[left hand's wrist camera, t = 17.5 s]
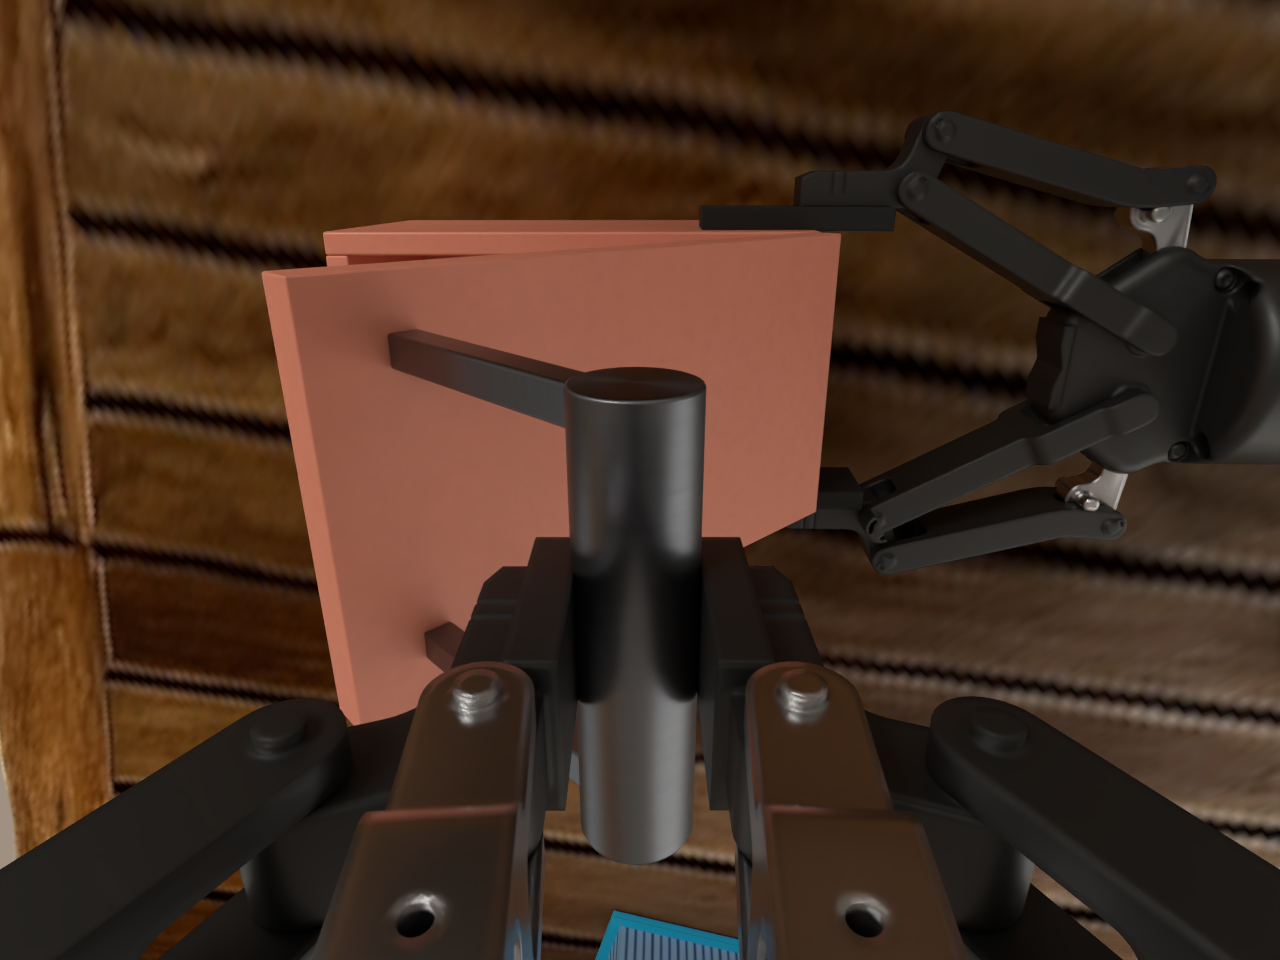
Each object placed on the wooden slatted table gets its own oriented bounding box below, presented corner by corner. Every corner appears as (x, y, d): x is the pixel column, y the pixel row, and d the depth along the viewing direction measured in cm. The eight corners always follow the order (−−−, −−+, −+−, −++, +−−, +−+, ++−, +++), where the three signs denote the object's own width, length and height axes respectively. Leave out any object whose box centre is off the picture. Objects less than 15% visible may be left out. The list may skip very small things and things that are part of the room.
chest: (431, 424, 37) (361, 496, 29) (410, 220, 34) (321, 232, 25) (768, 426, 37) (800, 500, 28) (781, 219, 33) (822, 231, 25)
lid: (340, 711, 17) (583, 981, 11) (260, 271, 13) (554, 333, 8) (790, 503, 28) (1029, 585, 22) (811, 231, 25) (1102, 245, 19)
